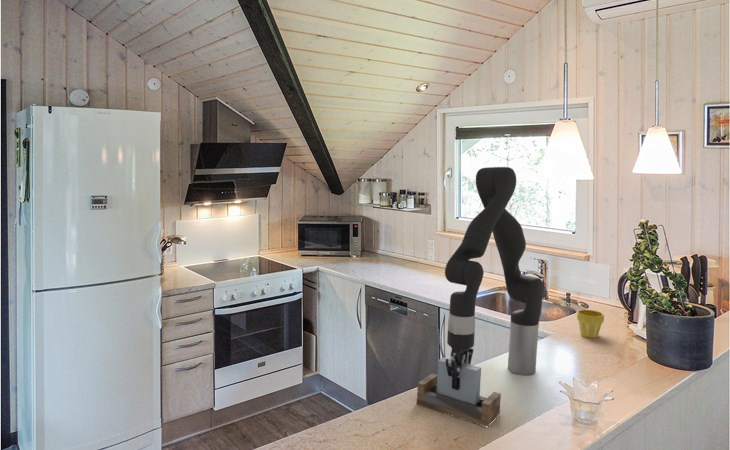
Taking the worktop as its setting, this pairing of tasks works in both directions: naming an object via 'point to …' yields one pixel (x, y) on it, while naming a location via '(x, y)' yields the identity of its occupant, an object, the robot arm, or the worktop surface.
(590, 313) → the plant pot
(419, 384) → the door track
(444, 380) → the light blue flat block
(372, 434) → the worktop surface
